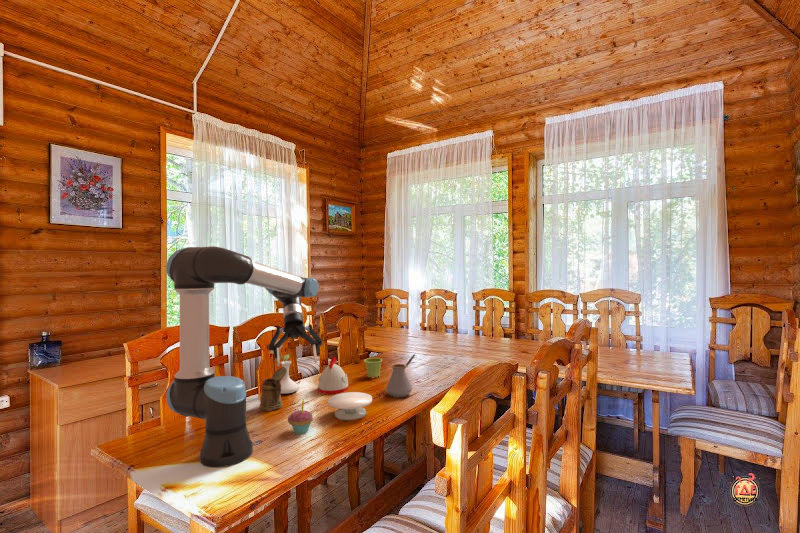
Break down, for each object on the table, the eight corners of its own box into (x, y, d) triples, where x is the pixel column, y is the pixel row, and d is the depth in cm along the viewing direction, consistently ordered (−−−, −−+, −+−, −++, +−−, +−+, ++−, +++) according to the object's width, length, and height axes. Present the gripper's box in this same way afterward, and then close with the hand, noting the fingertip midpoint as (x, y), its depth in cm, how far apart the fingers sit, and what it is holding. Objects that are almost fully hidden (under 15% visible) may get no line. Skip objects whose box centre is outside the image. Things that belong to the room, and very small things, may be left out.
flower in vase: (291, 386, 198) (290, 334, 198) (304, 391, 190) (302, 337, 190) (265, 393, 189) (264, 338, 189) (277, 398, 181) (276, 341, 181)
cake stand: (360, 425, 149) (360, 408, 149) (319, 419, 155) (319, 403, 155) (379, 409, 165) (379, 394, 165) (342, 404, 171) (341, 390, 171)
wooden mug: (274, 415, 161) (273, 369, 161) (255, 408, 169) (254, 364, 169) (293, 409, 168) (292, 364, 167) (274, 402, 176) (273, 360, 176)
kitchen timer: (352, 385, 198) (351, 354, 198) (343, 394, 185) (342, 361, 185) (324, 384, 201) (323, 353, 201) (313, 393, 187) (312, 360, 187)
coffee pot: (404, 400, 175) (403, 365, 175) (381, 396, 181) (380, 362, 181) (426, 387, 194) (426, 355, 194) (405, 383, 199) (404, 352, 199)
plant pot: (382, 379, 208) (381, 362, 208) (363, 379, 208) (363, 362, 208) (383, 374, 217) (382, 357, 217) (365, 374, 218) (364, 358, 218)
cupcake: (318, 430, 145) (317, 396, 145) (297, 438, 139) (296, 403, 139) (304, 424, 151) (303, 391, 151) (283, 431, 145) (282, 397, 145)
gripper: (323, 321, 176) (329, 364, 162) (261, 325, 168) (262, 371, 154) (324, 310, 171) (331, 353, 157) (261, 314, 163) (262, 360, 149)
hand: (297, 362), depth 155 cm, fingers open, 13 cm apart
